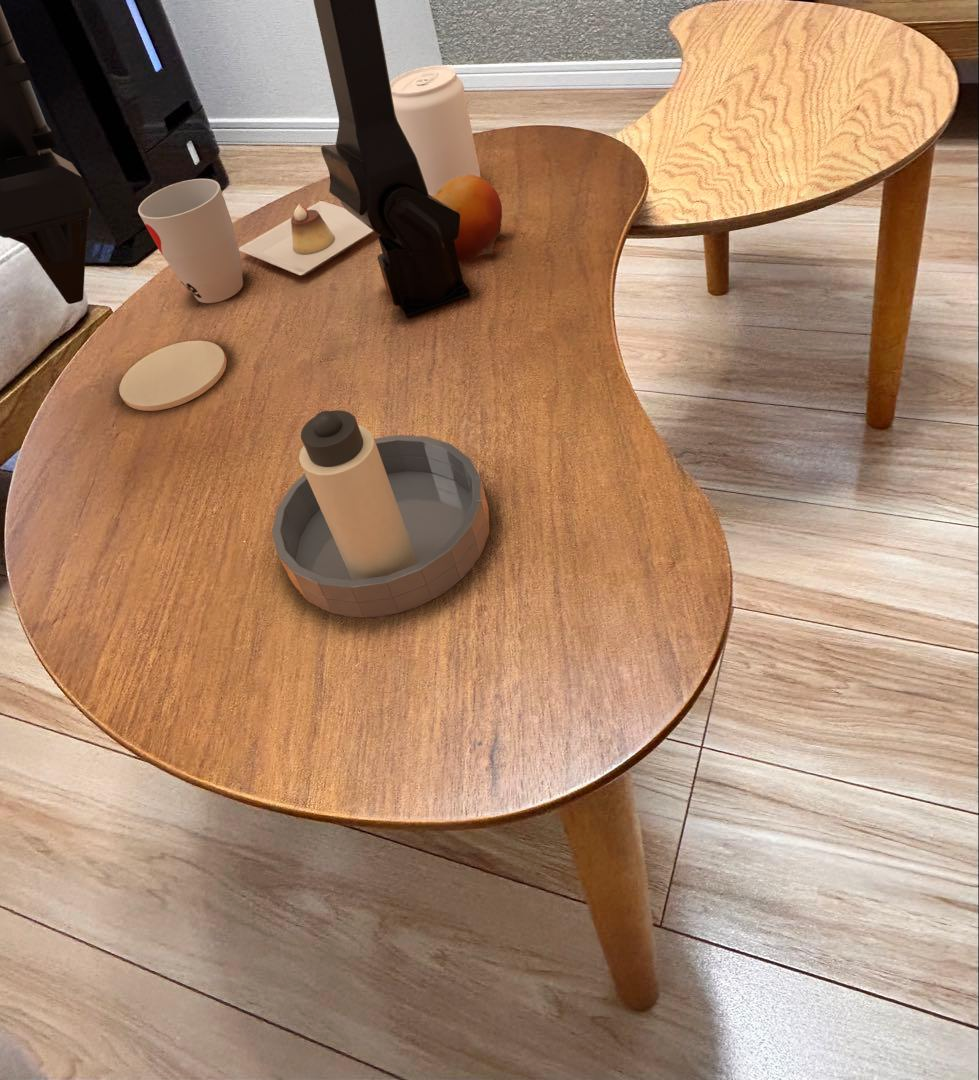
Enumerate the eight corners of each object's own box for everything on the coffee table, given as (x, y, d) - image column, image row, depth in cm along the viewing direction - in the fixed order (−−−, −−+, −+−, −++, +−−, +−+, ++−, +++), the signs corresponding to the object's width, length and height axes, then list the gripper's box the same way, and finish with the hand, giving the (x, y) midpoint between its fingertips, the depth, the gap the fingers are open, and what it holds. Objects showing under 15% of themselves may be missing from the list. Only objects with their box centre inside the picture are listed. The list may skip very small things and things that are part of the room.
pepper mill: (409, 541, 59) (351, 380, 49) (427, 585, 56) (369, 421, 46) (348, 564, 58) (278, 406, 49) (362, 610, 55) (291, 450, 46)
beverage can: (400, 210, 96) (370, 97, 87) (428, 176, 101) (402, 66, 92) (467, 209, 93) (442, 92, 85) (492, 175, 98) (471, 61, 89)
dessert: (323, 209, 100) (310, 168, 96) (390, 231, 93) (378, 188, 89) (240, 258, 95) (223, 217, 91) (304, 285, 88) (287, 241, 85)
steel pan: (454, 447, 66) (444, 411, 63) (520, 571, 56) (512, 534, 53) (276, 513, 64) (258, 478, 62) (311, 653, 54) (292, 618, 52)
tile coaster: (220, 333, 84) (218, 328, 84) (233, 386, 77) (230, 381, 77) (120, 368, 83) (117, 362, 83) (124, 424, 76) (120, 419, 76)
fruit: (516, 251, 82) (460, 184, 78) (457, 293, 86) (401, 232, 83) (530, 210, 87) (478, 146, 83) (473, 252, 92) (422, 193, 88)
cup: (189, 278, 94) (147, 189, 87) (261, 263, 93) (224, 171, 86) (176, 318, 88) (130, 225, 81) (253, 302, 87) (213, 207, 80)
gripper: (-178, 44, 58) (-63, 266, 68) (-178, 106, 46) (-38, 365, 56) (-3, 15, 62) (81, 229, 72) (40, 65, 49) (134, 314, 60)
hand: (63, 279), depth 65 cm, fingers open, 9 cm apart
